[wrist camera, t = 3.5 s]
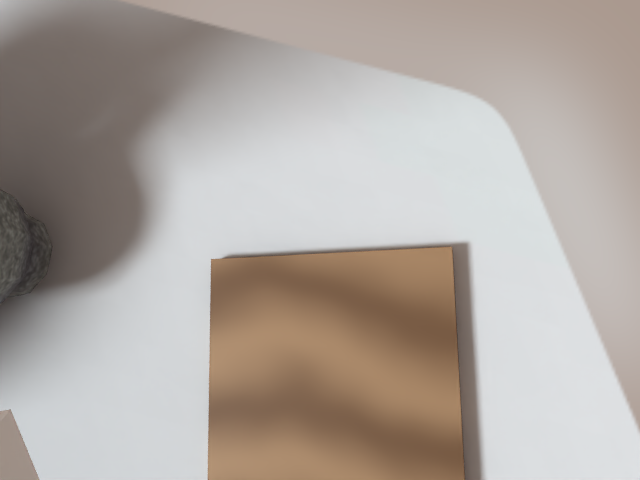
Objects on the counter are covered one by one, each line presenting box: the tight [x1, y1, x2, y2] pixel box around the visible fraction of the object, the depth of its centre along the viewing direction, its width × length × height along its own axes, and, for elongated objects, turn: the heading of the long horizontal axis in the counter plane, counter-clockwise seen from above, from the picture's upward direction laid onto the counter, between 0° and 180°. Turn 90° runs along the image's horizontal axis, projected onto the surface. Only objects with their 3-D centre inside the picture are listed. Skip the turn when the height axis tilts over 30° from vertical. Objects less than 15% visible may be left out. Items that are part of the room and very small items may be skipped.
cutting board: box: [208, 247, 465, 480], centre depth 31 cm, size 20×15×1 cm
